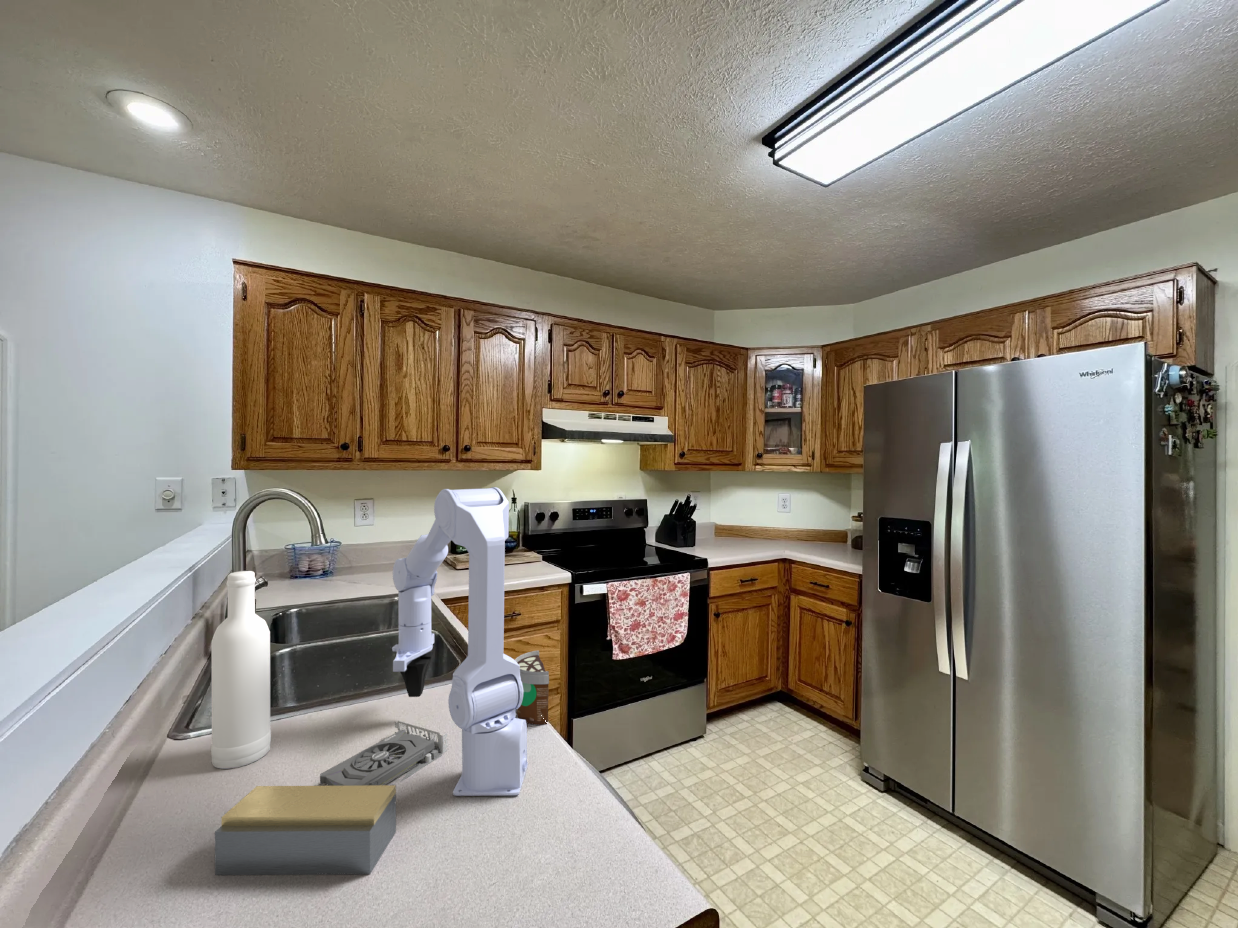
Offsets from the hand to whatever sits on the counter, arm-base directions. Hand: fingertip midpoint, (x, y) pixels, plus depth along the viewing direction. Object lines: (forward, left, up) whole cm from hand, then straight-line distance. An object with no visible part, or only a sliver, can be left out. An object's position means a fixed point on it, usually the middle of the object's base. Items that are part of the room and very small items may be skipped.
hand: (415, 695), depth 97 cm
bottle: (+24, +12, -5) cm, 27 cm away
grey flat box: (0, +33, -5) cm, 33 cm away
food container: (-21, -2, -5) cm, 21 cm away
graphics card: (0, +15, -5) cm, 16 cm away
